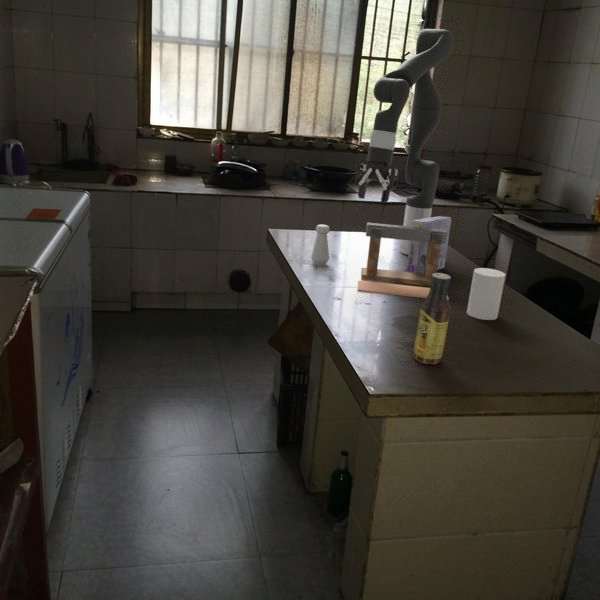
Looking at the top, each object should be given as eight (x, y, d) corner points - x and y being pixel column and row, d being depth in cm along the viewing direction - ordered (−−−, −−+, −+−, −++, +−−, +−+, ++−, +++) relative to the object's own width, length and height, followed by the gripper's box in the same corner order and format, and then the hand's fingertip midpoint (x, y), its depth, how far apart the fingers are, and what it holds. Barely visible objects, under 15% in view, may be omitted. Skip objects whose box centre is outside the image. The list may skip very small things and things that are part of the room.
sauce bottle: (409, 354, 146) (422, 269, 140) (436, 355, 147) (450, 271, 141) (417, 366, 140) (430, 278, 134) (445, 367, 141) (459, 280, 134)
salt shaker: (329, 262, 214) (332, 224, 210) (328, 267, 209) (331, 228, 205) (311, 261, 215) (314, 222, 210) (309, 265, 209) (313, 226, 205)
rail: (444, 241, 199) (445, 230, 198) (445, 243, 196) (447, 232, 195) (365, 233, 200) (367, 222, 199) (366, 236, 197) (367, 224, 196)
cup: (498, 312, 179) (506, 271, 175) (496, 322, 172) (504, 278, 168) (468, 307, 181) (475, 266, 178) (465, 316, 174) (472, 273, 170)
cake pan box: (434, 264, 223) (441, 213, 218) (447, 268, 220) (455, 216, 214) (403, 273, 209) (411, 219, 204) (417, 277, 206) (425, 222, 200)
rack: (436, 279, 205) (444, 230, 200) (439, 287, 198) (447, 236, 193) (361, 272, 207) (366, 222, 202) (361, 279, 199) (367, 228, 194)
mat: (444, 290, 195) (444, 289, 194) (448, 300, 186) (448, 298, 186) (358, 282, 196) (358, 280, 196) (358, 291, 188) (358, 289, 187)
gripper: (408, 151, 195) (398, 204, 199) (370, 146, 204) (361, 197, 207) (394, 148, 189) (384, 203, 193) (355, 143, 198) (346, 196, 202)
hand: (372, 200), depth 200 cm, fingers open, 8 cm apart
